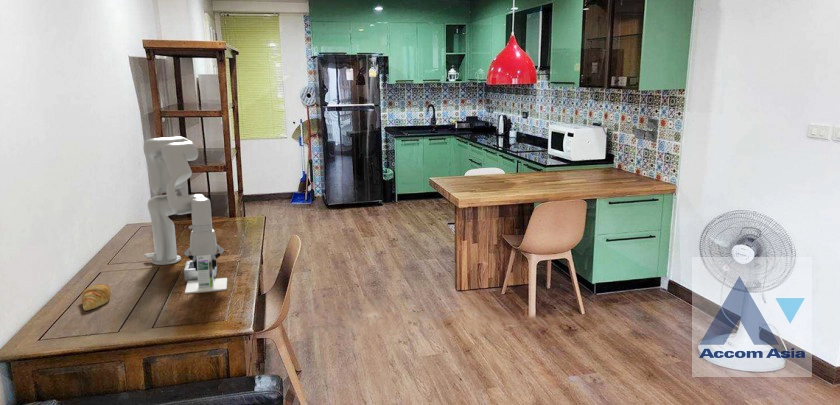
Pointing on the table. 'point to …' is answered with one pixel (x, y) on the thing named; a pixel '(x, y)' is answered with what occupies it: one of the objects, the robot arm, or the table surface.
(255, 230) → the table surface
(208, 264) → the syrup box
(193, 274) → the gray rectangular frame
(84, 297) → the croissant
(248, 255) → the table surface
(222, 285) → the mat
